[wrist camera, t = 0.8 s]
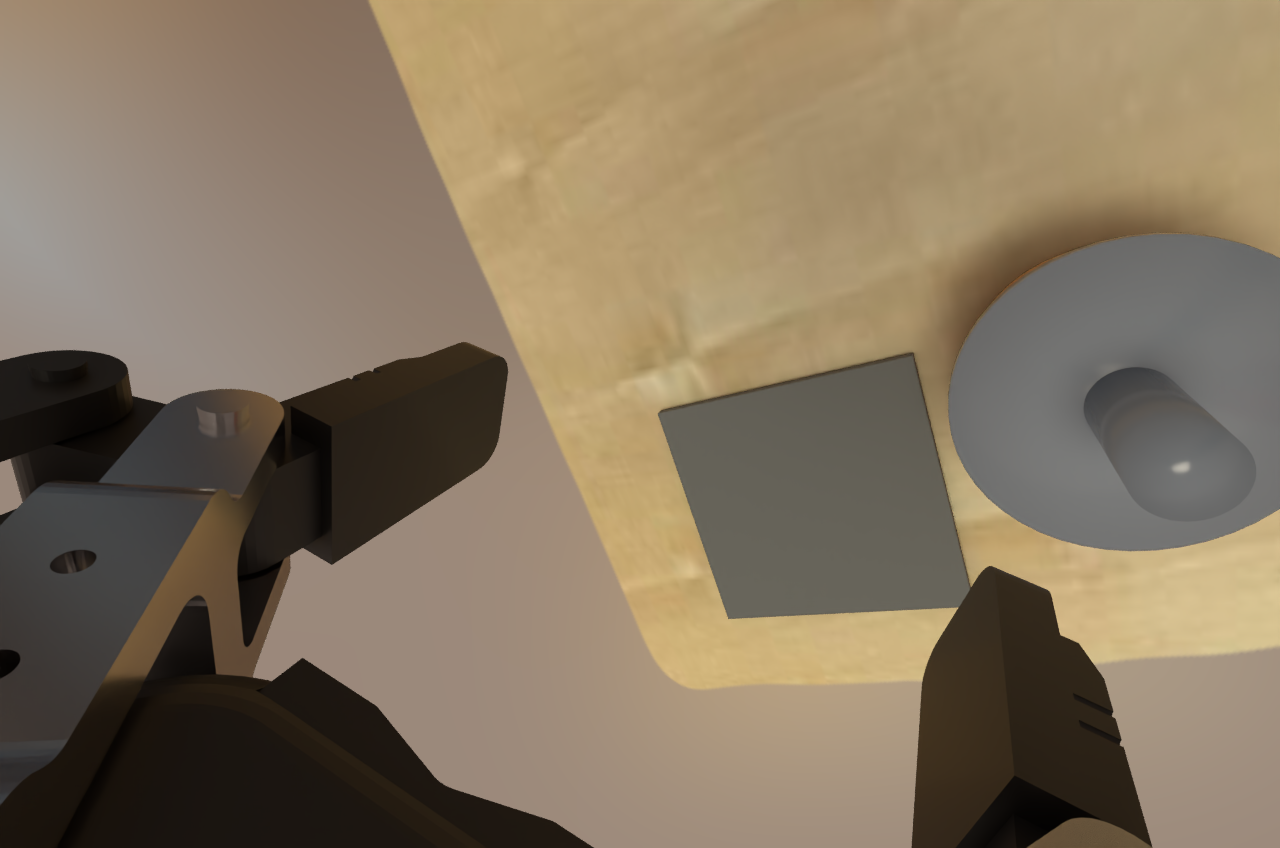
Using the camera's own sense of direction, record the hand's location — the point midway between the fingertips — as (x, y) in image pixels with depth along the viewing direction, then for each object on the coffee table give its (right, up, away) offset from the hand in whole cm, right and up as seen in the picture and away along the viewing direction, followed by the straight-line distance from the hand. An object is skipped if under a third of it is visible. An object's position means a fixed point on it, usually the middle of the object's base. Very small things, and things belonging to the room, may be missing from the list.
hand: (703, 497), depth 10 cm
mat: (+9, -3, +26) cm, 27 cm away
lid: (+17, +2, +13) cm, 21 cm away
